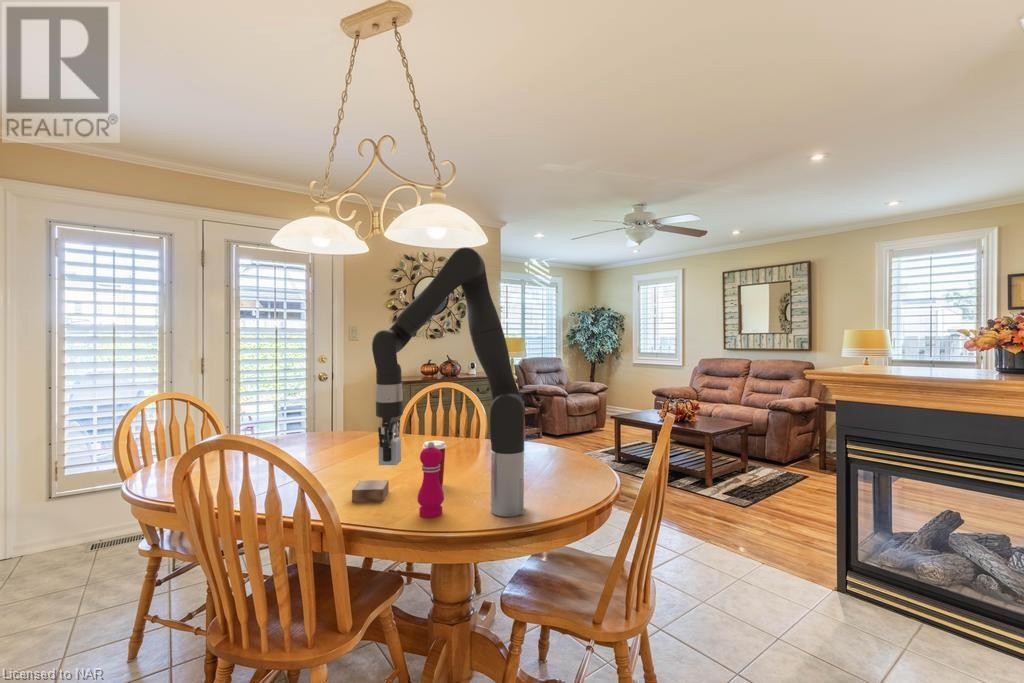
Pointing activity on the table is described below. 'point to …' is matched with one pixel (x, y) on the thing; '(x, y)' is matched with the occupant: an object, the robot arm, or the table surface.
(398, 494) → the table surface
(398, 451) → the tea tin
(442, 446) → the paper cup
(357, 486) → the walnut block
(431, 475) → the pepper mill
